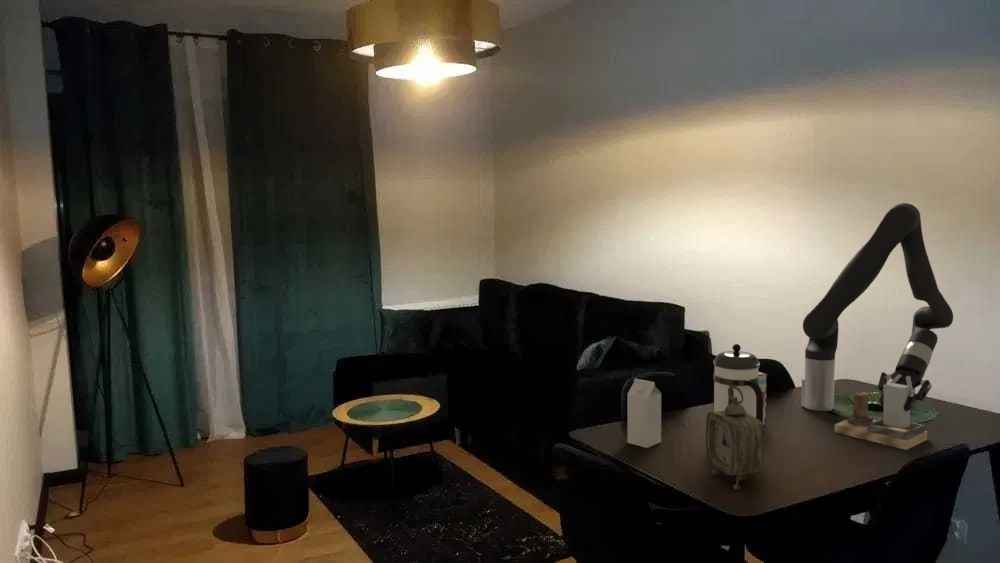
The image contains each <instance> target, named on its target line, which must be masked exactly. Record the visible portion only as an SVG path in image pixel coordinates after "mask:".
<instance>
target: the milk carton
mask: <svg viewBox="0 0 1000 563" xmlns="http://www.w3.org/2000/svg"><path fill="white" fill-rule="evenodd" d="M626 401H627V403H626V404H627V408H626V409H627V410H626V411H627V416H626V417H627V444H631V445H634V446H639V447H642V448H645V449H648V448H651V447H654V446H656V445H658V444H660V443H662V392H661V391H660V390H659V389H658V388H657V387H656V383H655V382H654V381H650V380H644V379H639V378H634V379H633V383H632V385H631V387H630V389H629V390H628V392H627V400H626Z"/></svg>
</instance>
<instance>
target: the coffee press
mask: <svg viewBox="0 0 1000 563" xmlns="http://www.w3.org/2000/svg"><path fill="white" fill-rule="evenodd" d="M731 348H732V350H727V351H722V352H720V353H718V354H717V355H716V357H715V358H714V359H713V363H712V364H713V365H714V372H713V412H717V411H725V408H726V407H727V406H728V405H729V404H732V403H733V401H731V399H730V398H729V396H728V388H729V387H730V386H736V387H738V388H739V389H740V390H741V391H742V394H743V402H742V403H741V404H740V405H742V406H743V407H744V409H745V411H746V413H747V414H749V415H751V416H753V417H755V418H756V419H758V420H760V421H761V422H762V423H763V396H762V391H761V389H760V387H759V375H758V371H759V368H760V365H761V363H760V361H759V359H758V357H757V356H756V355H754V354H752V353H751V352H748V351H742V350H741V349H742V347H741V345H740V344H738V343H735V344H733V345H732V347H731ZM730 395H731V397H732V398H734V397H737V398H738V401H741V395H740V393H739V391H738V390H736V389H734V388H731V389H730Z"/></svg>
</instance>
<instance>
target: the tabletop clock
mask: <svg viewBox="0 0 1000 563" xmlns="http://www.w3.org/2000/svg"><path fill="white" fill-rule="evenodd" d="M731 388H734V389H736V390H738V391H739V393H740V395H741V401H738V398H737V397H734V398H732V397H731V395H730V389H731ZM728 396H729V398H730V399H731V401H733V403H732V404H729V405H728V406H727V407H726V408H725V411H717V412H714V411H710V412H708V413H707V417H706V424H705V447H706V449H705V450H706V455H707V457H706V458H707V460H708V462H710V464H711V465H712V466H713V467H714V468H713V469H712V470H711V474H712V475H714V476H717V475H719V472H721V473H723V474H725V475H726V476H735V484H734V485H733V490H735V491H736V490H738V491H740V490H741V485H740V484H739V483H740V481H741V480H744V481H746V476H745V474H754V473H760V471H762V469H764V466H765V464H766V462H765V461H766V452H767V451H766V449H767V446H766V440H767V439H766V438H767V437H766V428H765V425H764V424H763V423H762V422H761V421H760V420H758V419H756V418H755V417H753V416H751V415H749V414H747V413H746V411H745V409H744V407H743V406H742V405H740V404H741V403H742V402H743V394H742V391H741V390H740V389H739V388H738V387H736V386H730V387H729V388H728Z"/></svg>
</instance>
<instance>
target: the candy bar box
mask: <svg viewBox="0 0 1000 563" xmlns="http://www.w3.org/2000/svg"><path fill="white" fill-rule="evenodd" d="M758 375H759V387H760V389H761V391H762V396H763V424H764V426H766V424H767V421H766V420H767V388H768V387H767V385H768V374H767V373H764V372H761V371H759V370H758Z"/></svg>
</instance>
